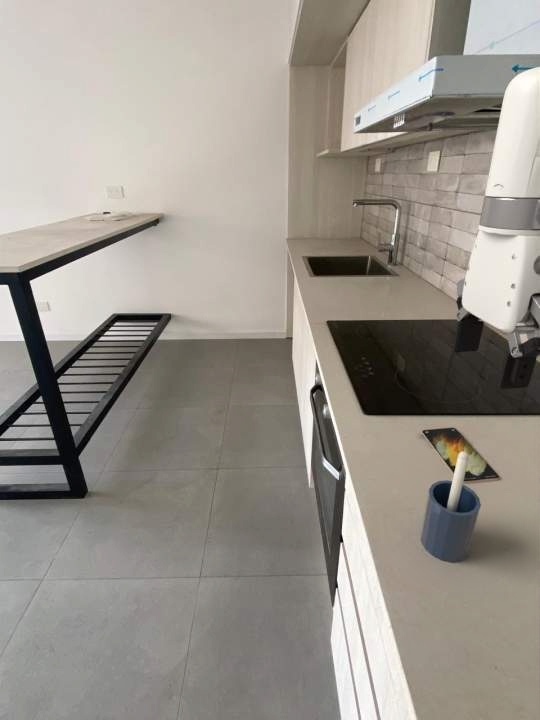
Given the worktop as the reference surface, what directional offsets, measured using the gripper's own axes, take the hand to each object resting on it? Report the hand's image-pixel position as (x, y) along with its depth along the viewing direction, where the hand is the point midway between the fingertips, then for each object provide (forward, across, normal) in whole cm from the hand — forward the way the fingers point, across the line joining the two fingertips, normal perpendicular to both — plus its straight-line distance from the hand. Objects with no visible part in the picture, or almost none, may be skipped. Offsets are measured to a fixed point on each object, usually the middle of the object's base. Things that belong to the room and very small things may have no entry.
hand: (486, 367), depth 47 cm
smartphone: (+26, +15, -9) cm, 32 cm away
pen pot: (+26, -3, +2) cm, 27 cm away
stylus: (+26, -3, +2) cm, 26 cm away
